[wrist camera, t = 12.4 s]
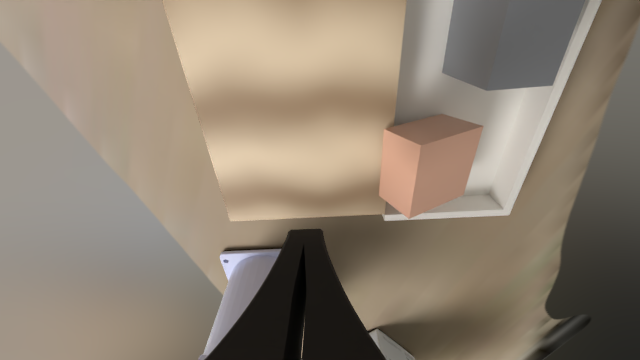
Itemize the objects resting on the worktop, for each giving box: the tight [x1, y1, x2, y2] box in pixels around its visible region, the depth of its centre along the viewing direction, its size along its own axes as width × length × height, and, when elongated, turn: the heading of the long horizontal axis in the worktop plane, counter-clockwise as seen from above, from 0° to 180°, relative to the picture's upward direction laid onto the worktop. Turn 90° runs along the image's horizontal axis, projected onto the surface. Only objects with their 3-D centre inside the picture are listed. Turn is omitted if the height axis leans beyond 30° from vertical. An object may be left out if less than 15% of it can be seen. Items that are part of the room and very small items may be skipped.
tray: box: [382, 0, 602, 221], centre depth 16 cm, size 17×10×2 cm, turn 3°
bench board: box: [162, 0, 407, 221], centre depth 17 cm, size 16×12×2 cm
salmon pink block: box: [379, 114, 484, 219], centre depth 17 cm, size 5×5×3 cm
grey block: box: [442, 0, 585, 91], centre depth 13 cm, size 5×5×3 cm
